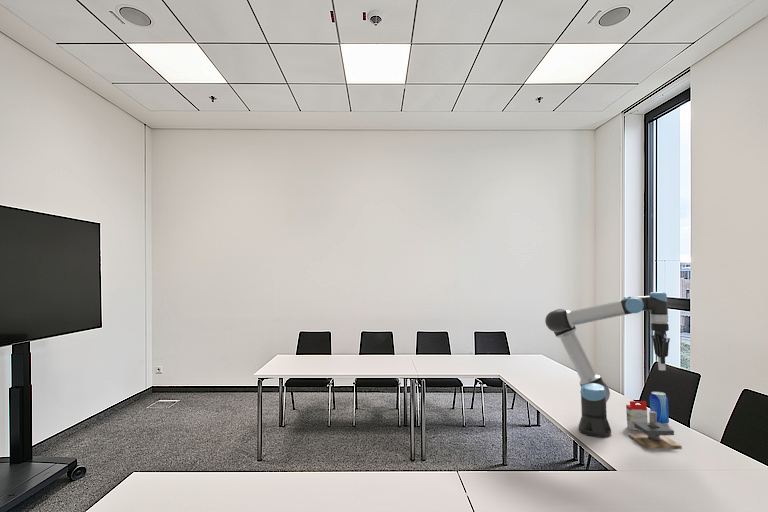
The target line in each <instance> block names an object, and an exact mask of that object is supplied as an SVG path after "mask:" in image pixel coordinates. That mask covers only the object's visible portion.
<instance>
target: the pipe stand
mask: <svg viewBox="0 0 768 512" xmlns="http://www.w3.org/2000/svg"><path fill="white" fill-rule="evenodd" d="M648 414H649V416H648V417H649V423H650V428H657V413H656V412H653V411H650V410H649V412H648ZM628 437H629V438H630V439H632V440H633V441H634V442H636V443H638V444H639V445H641V446H642V447H643V448H645V449H682V448H683V447H682V446H683V445H682V444H680V443H679V442H676V441H675V440H673V439H671V438H670V437H668V436H667V435H646V434H645V433H628Z"/></svg>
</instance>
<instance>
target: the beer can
mask: <svg viewBox="0 0 768 512" xmlns="http://www.w3.org/2000/svg"><path fill="white" fill-rule="evenodd" d="M650 411H653V412H656V413H657V423H661V424H663V425H664V426H667V425H668V424H669V423H670V418H669V417H670V416H669V412H670V411H669V398H668V396H667V394H666V393H665V392H662V391H651V393H650V395H649V412H650Z"/></svg>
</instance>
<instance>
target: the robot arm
mask: <svg viewBox="0 0 768 512" xmlns="http://www.w3.org/2000/svg"><path fill="white" fill-rule="evenodd" d="M668 309H669V307H668V296H667V293H666V292H664V291H653V292H652V291H651V292H649V295H645V296H644V295H643V296H642V295H625V296H624V297H623V299H620V300H616V301H615V300H614V301H611V302H610V301H609V302H607V303H602V304H598V305H597V304H596V305H592V306H589V307H584V308H579V309H576V310H569V309H563V308H557V309H554V310H552V311H550V312H549V313H547V315H546V316H545V318H544V319H545V320H544V323H545V326H546V327H547V328H548V329H549V330H550V331H551V332H553V333H554V335H555V337H556V338H558V339H560V341H561V343H562V345H563V347H564V349H565V352H566V353H567V355H568V357H569V359H570V361H571V363H572V364H573V367H574V369H575V371H576V373H577V375H578V378H579V379H580V381H579V385H580V391H579V392H580V404H581V417H580V420H579V423H578V432H579V433H580V434H582V435H585V436H588V437H593V438H607V437H610V436H612V428H611V426H610V423H609V420H608V415H607V411H608V410H607V402H608V401H609V399H610V397H611V392H610V388H609V386H608V385H607V383H605V382H604V380H603V379H602V376H601V375H599V374H597V373H596V371H595V369H594V367H593V365H592V363H591V361H590V359H589V357H588V355H587V353H586V351H585V349H584V347H583V346H582V343H581V341H580V339H579V338H578V335H577V334H576V331H577V327H576V326H578V325H583V324H588V323H592V322H593V323H594V322H597V321H602V320H608V319H611V318H616V317H621V316H626V315H631V314H638V313H641V312H645V311H646V312H650V322H651V324H650V328H651V329H650V330H651V331H654V332H653V334H651V335H650V336H651V339H652V344H653V350H654V354H655V355H656V356H657V365H658V366H657V367H658V368H657V369H658V371H667V369H666V357H668V356H669V349H670V342H671V341H670V340H671V339H670V337H667V332H668V331H670V329H669V311H668Z"/></svg>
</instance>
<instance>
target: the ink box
mask: <svg viewBox="0 0 768 512" xmlns="http://www.w3.org/2000/svg"><path fill="white" fill-rule="evenodd" d="M625 407H626V410H625V411H626V428H628V429H629V430H631V431H639V430H638V429H637V428H635V427H634V423H649V422H648V407H647V401H645V400H640V401H639V400H638V401H637V400H632V401H631V400H630V401H629V404H626V406H625Z"/></svg>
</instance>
